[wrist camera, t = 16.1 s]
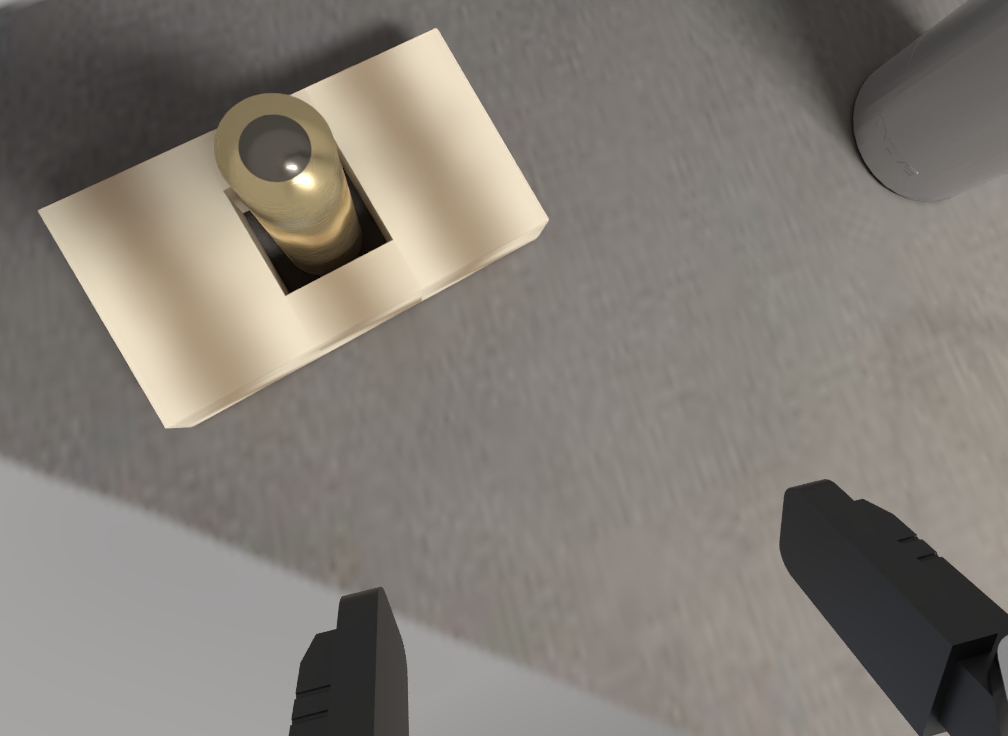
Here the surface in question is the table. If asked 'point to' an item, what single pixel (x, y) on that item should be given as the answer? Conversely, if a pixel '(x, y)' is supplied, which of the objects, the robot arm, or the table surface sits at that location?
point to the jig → (246, 266)
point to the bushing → (290, 179)
